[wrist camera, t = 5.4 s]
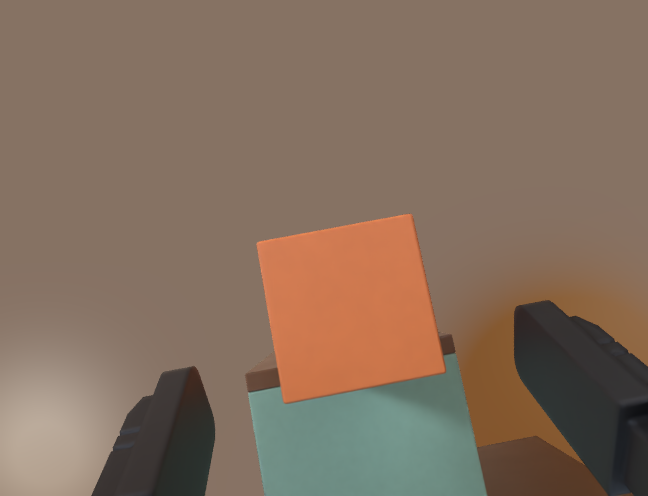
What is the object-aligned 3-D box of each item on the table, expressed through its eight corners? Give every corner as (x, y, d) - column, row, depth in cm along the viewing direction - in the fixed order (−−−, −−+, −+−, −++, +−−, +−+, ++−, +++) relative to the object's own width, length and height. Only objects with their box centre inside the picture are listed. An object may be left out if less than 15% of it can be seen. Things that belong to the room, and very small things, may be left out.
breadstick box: (449, 373, 11) (414, 212, 11) (281, 405, 11) (253, 242, 11) (367, 330, 33) (357, 275, 33) (312, 340, 32) (302, 286, 33)
